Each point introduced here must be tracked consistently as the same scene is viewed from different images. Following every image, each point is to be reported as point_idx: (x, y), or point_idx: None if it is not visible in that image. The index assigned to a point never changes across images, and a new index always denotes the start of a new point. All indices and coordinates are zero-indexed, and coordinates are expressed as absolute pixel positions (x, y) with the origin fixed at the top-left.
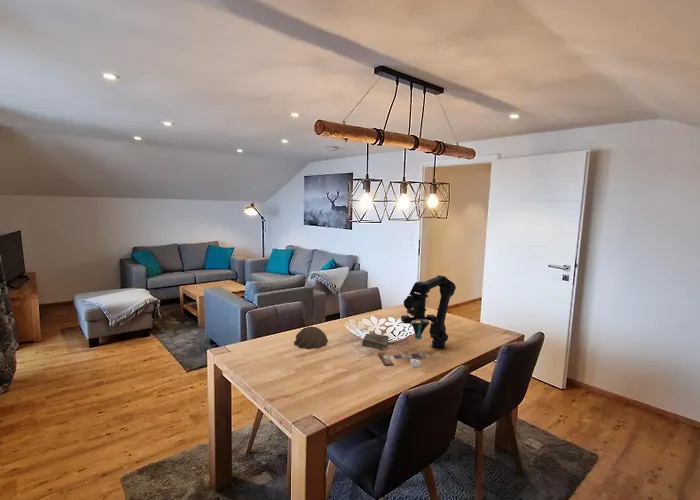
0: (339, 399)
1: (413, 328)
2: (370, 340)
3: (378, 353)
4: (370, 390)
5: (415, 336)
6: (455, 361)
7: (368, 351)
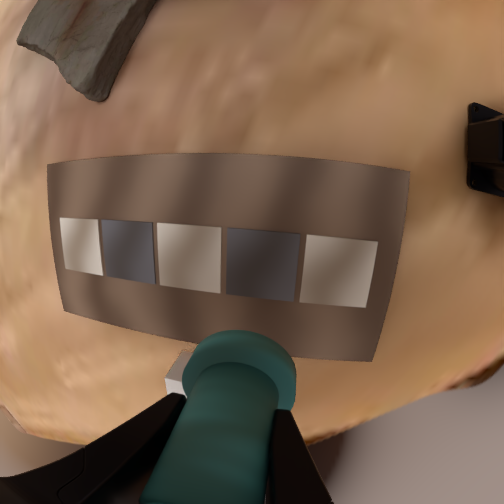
0: (17, 399)
1: (90, 454)
2: (36, 38)
3: (48, 170)
4: (54, 410)
5: (185, 392)
6: (472, 349)
7: (34, 116)
